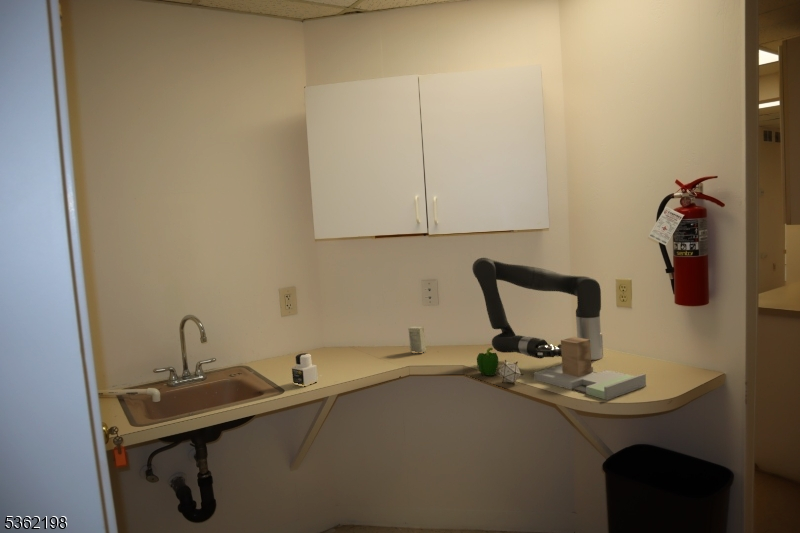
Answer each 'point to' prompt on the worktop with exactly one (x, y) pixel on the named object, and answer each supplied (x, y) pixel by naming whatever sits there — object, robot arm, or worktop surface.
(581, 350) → the walnut block
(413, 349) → the skincare box
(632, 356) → the worktop surface
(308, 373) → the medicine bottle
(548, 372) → the board
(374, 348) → the worktop surface
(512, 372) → the game die
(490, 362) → the bell pepper
